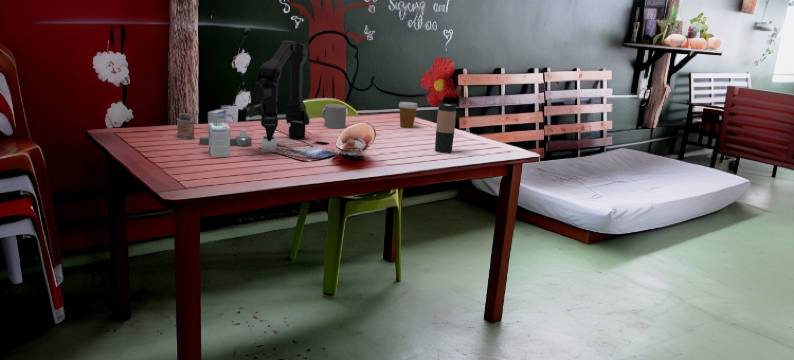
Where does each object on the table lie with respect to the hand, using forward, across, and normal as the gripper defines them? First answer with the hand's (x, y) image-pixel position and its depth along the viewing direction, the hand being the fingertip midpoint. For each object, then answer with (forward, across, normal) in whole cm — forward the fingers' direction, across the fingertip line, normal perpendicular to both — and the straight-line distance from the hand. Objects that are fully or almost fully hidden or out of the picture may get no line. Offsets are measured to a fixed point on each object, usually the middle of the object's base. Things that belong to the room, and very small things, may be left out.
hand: (269, 138), depth 233 cm
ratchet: (+5, -8, -17) cm, 19 cm away
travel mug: (+5, -5, +72) cm, 72 cm away
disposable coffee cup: (+5, -55, +67) cm, 87 cm away
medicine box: (+5, -34, -22) cm, 41 cm away
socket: (+5, 0, 0) cm, 5 cm away
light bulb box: (+5, +7, -18) cm, 20 cm away
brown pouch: (+5, -18, -33) cm, 38 cm away
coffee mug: (+5, -52, +30) cm, 60 cm away
